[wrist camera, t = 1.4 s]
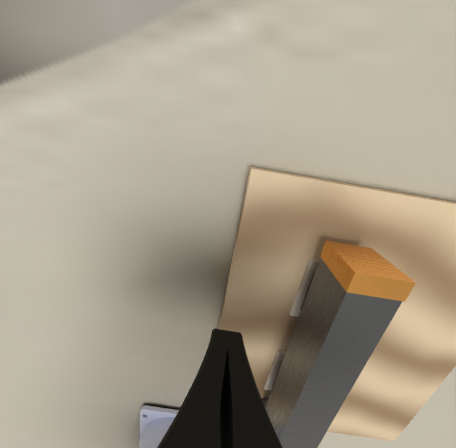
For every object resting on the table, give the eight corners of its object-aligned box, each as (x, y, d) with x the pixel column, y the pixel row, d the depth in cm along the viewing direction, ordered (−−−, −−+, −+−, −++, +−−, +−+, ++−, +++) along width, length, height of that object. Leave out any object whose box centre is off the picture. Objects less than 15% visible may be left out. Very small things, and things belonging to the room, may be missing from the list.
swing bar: (288, 436, 18) (297, 491, 15) (251, 431, 18) (254, 484, 15) (376, 248, 12) (423, 284, 9) (320, 239, 12) (348, 271, 9)
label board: (385, 425, 21) (398, 450, 19) (204, 398, 20) (201, 421, 19) (541, 216, 13) (587, 227, 11) (250, 166, 12) (252, 170, 11)
